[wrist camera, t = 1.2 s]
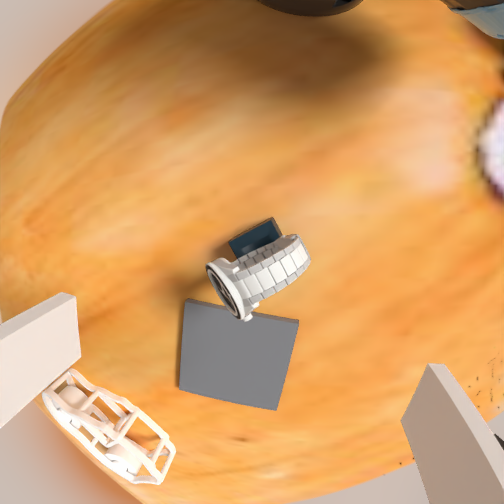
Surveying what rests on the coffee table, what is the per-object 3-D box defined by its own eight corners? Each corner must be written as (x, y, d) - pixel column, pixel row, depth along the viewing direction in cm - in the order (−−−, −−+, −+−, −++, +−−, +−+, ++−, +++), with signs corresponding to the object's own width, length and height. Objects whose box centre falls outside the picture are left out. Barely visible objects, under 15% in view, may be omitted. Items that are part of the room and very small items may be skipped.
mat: (188, 298, 33) (185, 301, 32) (298, 320, 32) (298, 324, 31) (181, 385, 36) (179, 389, 35) (276, 405, 34) (276, 410, 34)
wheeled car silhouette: (58, 380, 39) (32, 403, 32) (86, 351, 37) (55, 377, 30) (145, 463, 41) (129, 493, 34) (185, 447, 38) (170, 481, 31)
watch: (217, 246, 31) (181, 275, 21) (288, 208, 30) (288, 219, 19) (244, 293, 32) (221, 343, 21) (315, 258, 30) (327, 296, 20)
